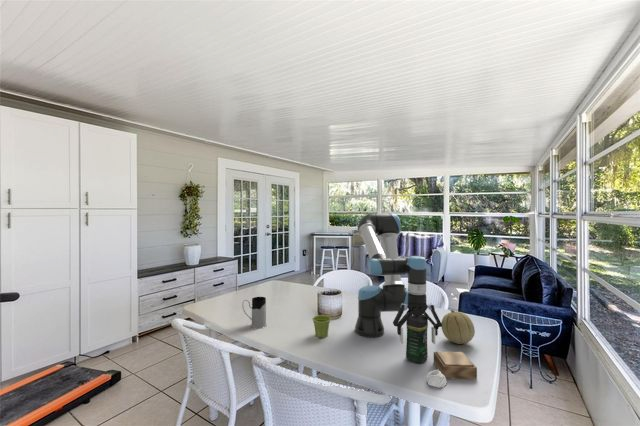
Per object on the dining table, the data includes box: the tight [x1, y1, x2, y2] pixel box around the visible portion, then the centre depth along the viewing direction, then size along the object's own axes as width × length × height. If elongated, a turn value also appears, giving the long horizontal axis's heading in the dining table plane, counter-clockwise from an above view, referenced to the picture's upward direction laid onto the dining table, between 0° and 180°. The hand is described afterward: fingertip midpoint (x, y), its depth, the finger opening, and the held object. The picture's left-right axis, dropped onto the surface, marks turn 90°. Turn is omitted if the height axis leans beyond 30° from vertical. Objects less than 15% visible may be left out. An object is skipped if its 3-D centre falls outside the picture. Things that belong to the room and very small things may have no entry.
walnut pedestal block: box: [433, 350, 478, 380], centre depth 117 cm, size 12×12×5 cm
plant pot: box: [312, 314, 332, 339], centre depth 151 cm, size 9×9×9 cm
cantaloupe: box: [440, 309, 476, 345], centre depth 143 cm, size 15×15×15 cm
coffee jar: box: [405, 314, 429, 364], centre depth 127 cm, size 10×8×19 cm
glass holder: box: [241, 296, 268, 329], centre depth 165 cm, size 9×14×15 cm, turn 78°
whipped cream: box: [426, 369, 448, 389], centre depth 108 cm, size 8×7×5 cm
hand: (417, 342), depth 127 cm, fingers open, 13 cm apart
